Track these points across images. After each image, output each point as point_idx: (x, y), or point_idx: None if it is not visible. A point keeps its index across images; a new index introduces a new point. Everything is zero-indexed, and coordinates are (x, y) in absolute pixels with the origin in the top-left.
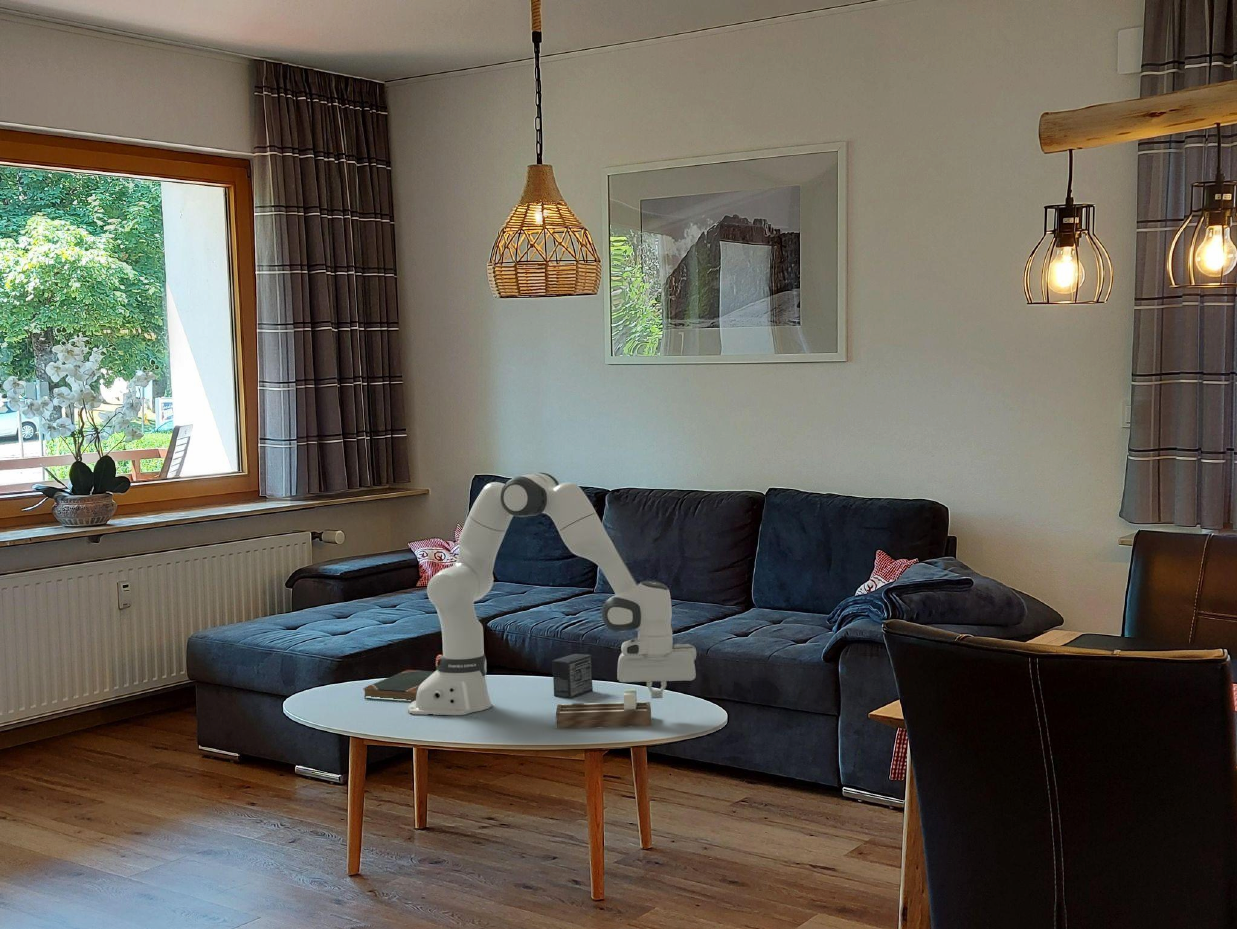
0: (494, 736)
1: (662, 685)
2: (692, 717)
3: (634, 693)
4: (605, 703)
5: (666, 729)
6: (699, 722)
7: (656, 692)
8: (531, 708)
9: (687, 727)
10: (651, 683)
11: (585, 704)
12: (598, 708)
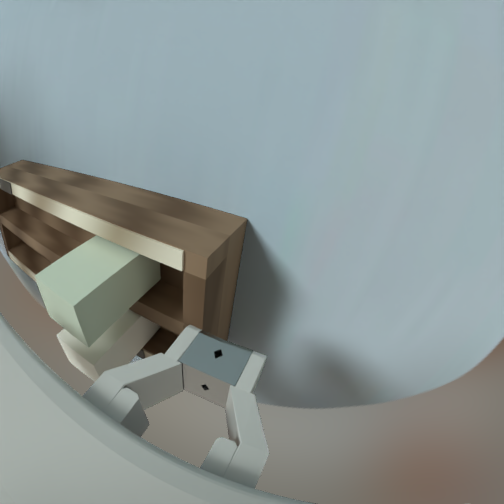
0: (3, 241)
1: (235, 435)
2: (437, 309)
3: (95, 374)
4: (42, 207)
5: (267, 385)
6: (410, 374)
7: (203, 394)
8: (5, 52)
9: (339, 398)
10: (139, 431)
11: (15, 195)
12: (45, 255)
